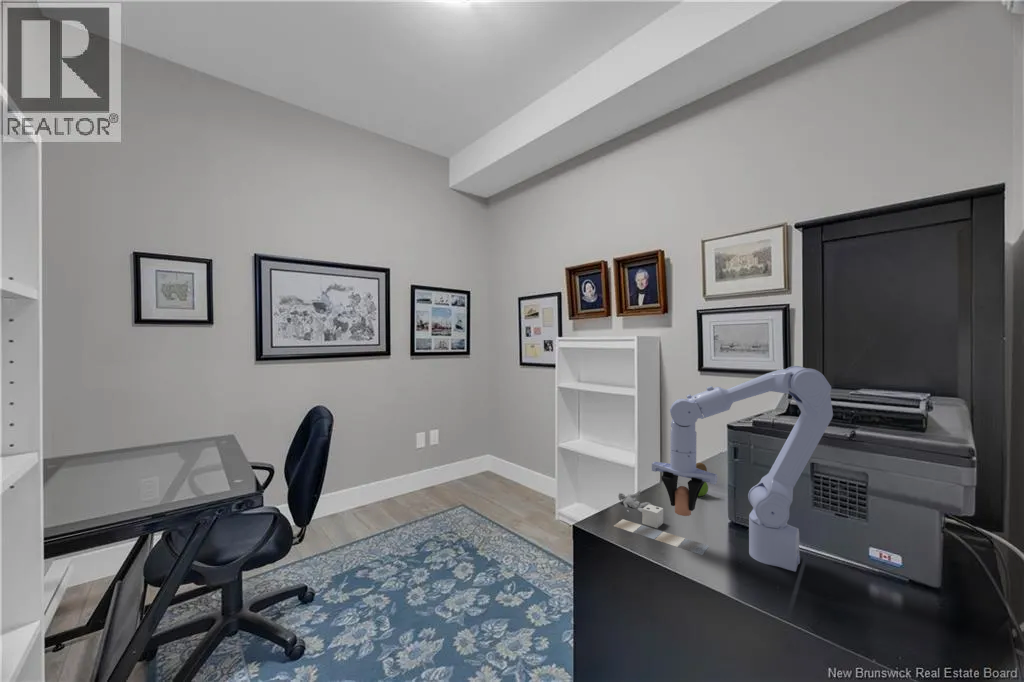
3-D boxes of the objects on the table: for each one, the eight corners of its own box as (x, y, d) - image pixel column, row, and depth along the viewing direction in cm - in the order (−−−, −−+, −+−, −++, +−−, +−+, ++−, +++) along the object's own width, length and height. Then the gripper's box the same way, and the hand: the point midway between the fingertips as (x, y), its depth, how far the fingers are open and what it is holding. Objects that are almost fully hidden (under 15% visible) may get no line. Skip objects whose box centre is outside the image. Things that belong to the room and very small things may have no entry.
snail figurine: (683, 492, 132) (683, 455, 132) (702, 492, 133) (701, 455, 133) (692, 499, 127) (692, 460, 127) (712, 498, 128) (711, 459, 128)
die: (663, 523, 109) (663, 507, 109) (657, 528, 106) (657, 512, 106) (648, 519, 111) (648, 503, 111) (642, 523, 108) (642, 508, 108)
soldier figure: (648, 525, 111) (610, 500, 119) (649, 531, 115) (612, 507, 122) (662, 502, 114) (624, 479, 122) (663, 508, 118) (626, 486, 125)
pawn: (693, 512, 98) (693, 486, 98) (688, 517, 95) (688, 490, 95) (677, 508, 100) (677, 482, 100) (672, 512, 98) (672, 486, 98)
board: (717, 540, 101) (717, 537, 101) (702, 560, 92) (702, 556, 92) (631, 515, 115) (631, 512, 115) (610, 530, 106) (610, 526, 106)
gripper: (720, 452, 96) (720, 510, 96) (659, 441, 105) (659, 494, 106) (712, 458, 91) (711, 520, 91) (648, 447, 100) (648, 502, 100)
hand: (682, 507), depth 98 cm, fingers closed on pawn, 4 cm apart
